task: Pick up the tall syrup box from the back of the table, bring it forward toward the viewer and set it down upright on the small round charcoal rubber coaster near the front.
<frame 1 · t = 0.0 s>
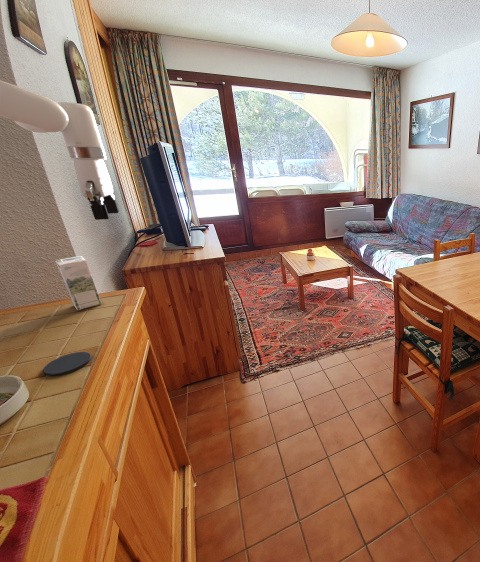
hand: (107, 216, 92), 25 cm above the worktop, tool pointing down, fingers open, 9 cm apart
coaster: (68, 364, 67), on the worktop
syrup box: (88, 305, 93), on the worktop
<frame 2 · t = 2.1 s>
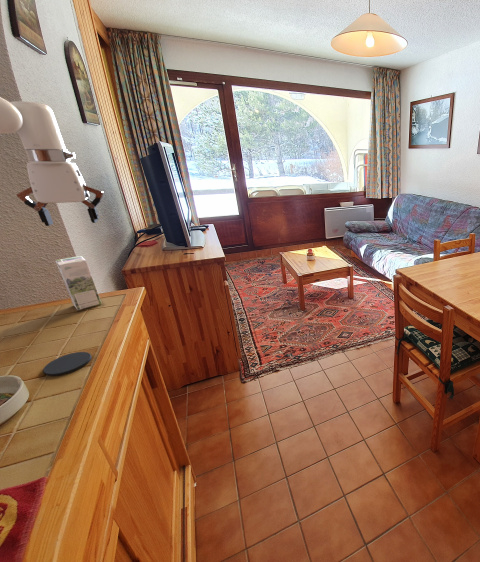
hand: (72, 223, 86), 24 cm above the worktop, tool pointing down, fingers open, 9 cm apart
nothing on the worktop moved.
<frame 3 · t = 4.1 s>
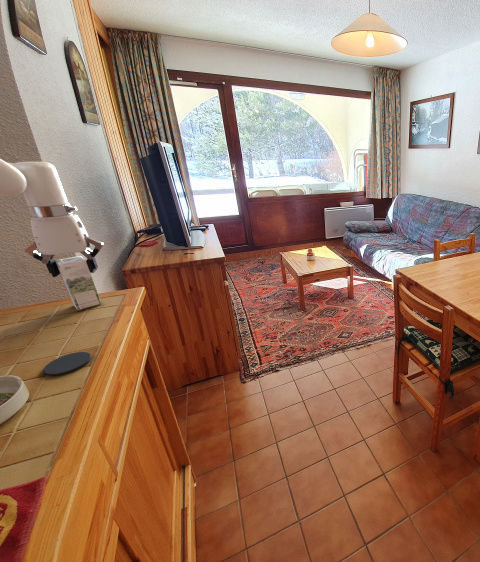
hand: (75, 272, 89), 10 cm above the worktop, tool pointing down, fingers closed on syrup box, 7 cm apart
syrup box: (88, 305, 93), on the worktop, touching gripper
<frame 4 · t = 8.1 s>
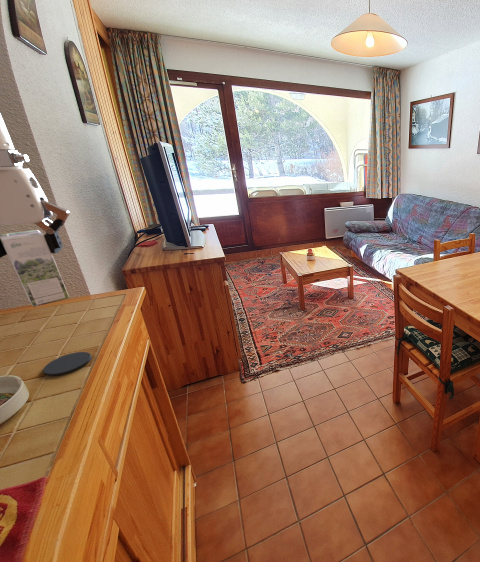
hand: (29, 253, 62), 24 cm above the worktop, tool pointing down, fingers closed on syrup box, 7 cm apart
syrup box: (50, 300, 66), point 13 cm above the worktop, touching gripper
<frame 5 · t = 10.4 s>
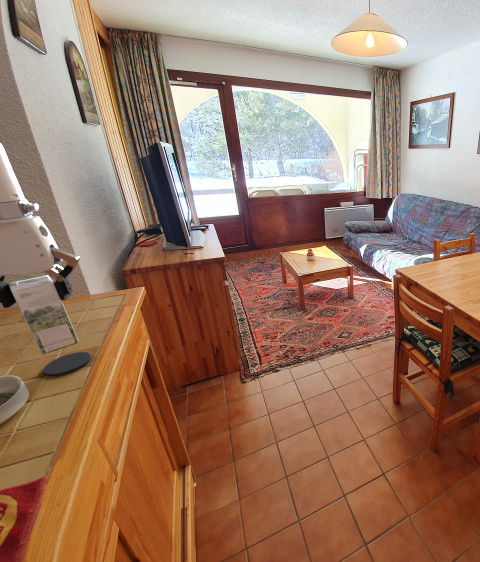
hand: (39, 300, 61), 16 cm above the worktop, tool pointing down, fingers closed on syrup box, 7 cm apart
syrup box: (59, 345, 65), point 5 cm above the worktop, touching gripper
when the fingers open (11 cm above the worktop, at t = 12.2 s): syrup box stays where it is, resting on coaster.
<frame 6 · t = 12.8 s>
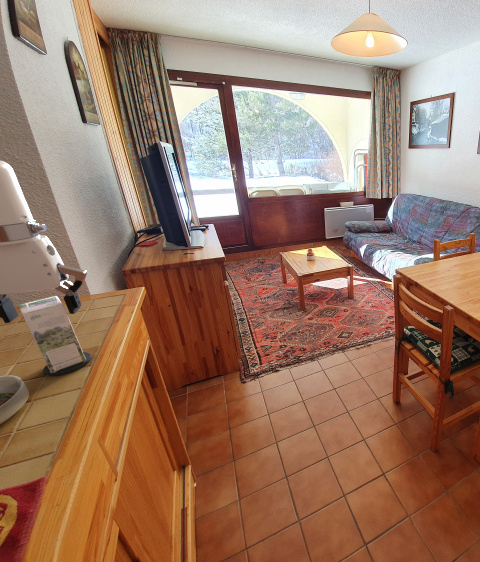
hand: (44, 315, 62), 12 cm above the worktop, tool pointing down, fingers open, 9 cm apart
syrup box: (67, 363, 67), resting on coaster
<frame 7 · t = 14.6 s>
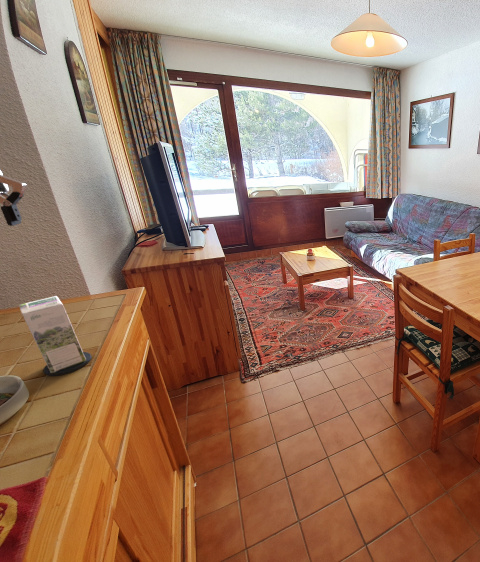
nothing on the worktop moved.
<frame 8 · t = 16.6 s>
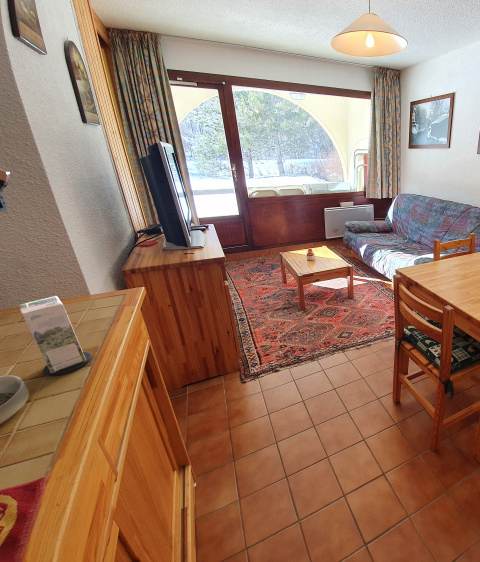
nothing on the worktop moved.
at the end: syrup box 0.1 cm off-centre on the coaster, point 0.4 cm above the coaster's base; syrup box tilted 0°; syrup box moved 33.6 cm from its start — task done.
